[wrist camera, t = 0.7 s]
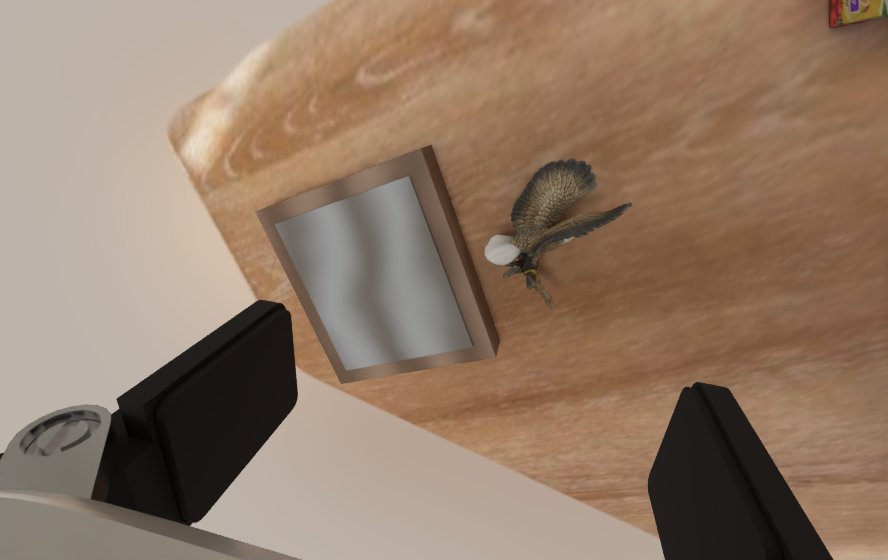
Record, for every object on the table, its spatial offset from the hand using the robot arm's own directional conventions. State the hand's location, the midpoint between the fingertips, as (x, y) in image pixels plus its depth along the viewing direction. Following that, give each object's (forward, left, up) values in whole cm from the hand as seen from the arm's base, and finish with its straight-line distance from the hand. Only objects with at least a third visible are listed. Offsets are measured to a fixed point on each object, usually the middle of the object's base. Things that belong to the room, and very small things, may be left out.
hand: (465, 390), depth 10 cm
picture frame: (+14, +3, -25) cm, 29 cm away
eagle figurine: (-1, +3, -25) cm, 26 cm away
